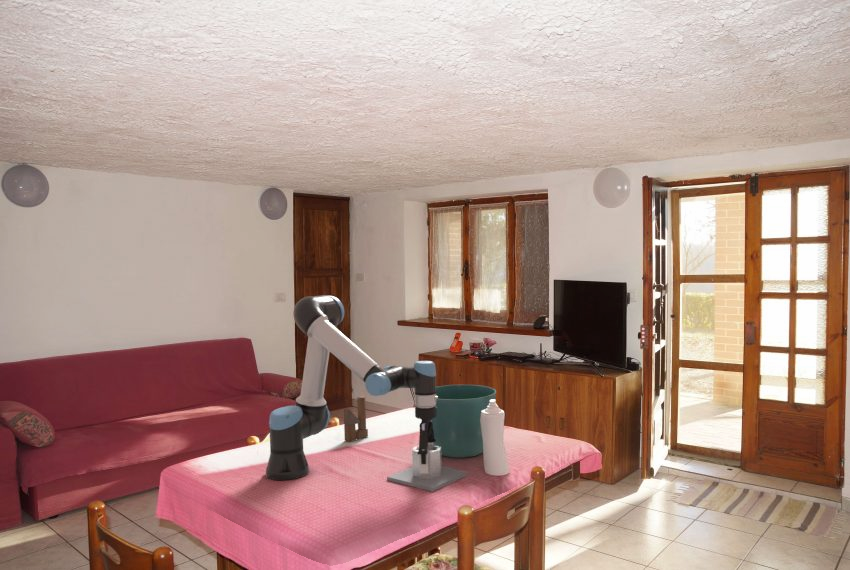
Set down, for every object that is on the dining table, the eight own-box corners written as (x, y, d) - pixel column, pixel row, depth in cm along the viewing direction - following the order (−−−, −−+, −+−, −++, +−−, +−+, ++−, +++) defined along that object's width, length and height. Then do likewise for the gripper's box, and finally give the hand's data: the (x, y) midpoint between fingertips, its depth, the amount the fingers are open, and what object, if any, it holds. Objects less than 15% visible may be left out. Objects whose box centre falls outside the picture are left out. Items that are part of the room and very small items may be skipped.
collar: (411, 478, 209) (410, 452, 209) (416, 469, 218) (415, 444, 218) (439, 479, 208) (438, 452, 207) (442, 470, 217) (442, 444, 217)
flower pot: (459, 468, 222) (457, 402, 222) (407, 452, 245) (405, 392, 245) (513, 451, 242) (511, 390, 242) (460, 437, 265) (458, 382, 264)
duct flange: (432, 491, 199) (431, 463, 199) (387, 480, 211) (386, 453, 211) (467, 475, 215) (467, 448, 214) (423, 465, 227) (422, 440, 227)
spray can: (473, 471, 219) (471, 401, 218) (489, 463, 227) (487, 396, 227) (501, 477, 212) (499, 404, 211) (516, 468, 220) (514, 399, 220)
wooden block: (344, 441, 264) (343, 399, 264) (362, 435, 272) (361, 395, 272) (350, 442, 262) (348, 400, 262) (368, 437, 270) (367, 396, 270)
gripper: (431, 414, 200) (433, 478, 200) (440, 398, 224) (442, 456, 225) (408, 413, 201) (410, 478, 201) (420, 398, 226) (422, 456, 226)
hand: (427, 466), depth 213 cm, fingers open, 13 cm apart
